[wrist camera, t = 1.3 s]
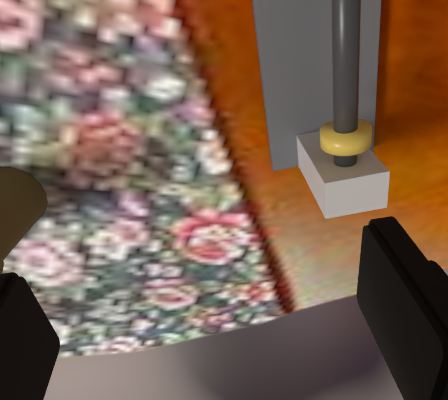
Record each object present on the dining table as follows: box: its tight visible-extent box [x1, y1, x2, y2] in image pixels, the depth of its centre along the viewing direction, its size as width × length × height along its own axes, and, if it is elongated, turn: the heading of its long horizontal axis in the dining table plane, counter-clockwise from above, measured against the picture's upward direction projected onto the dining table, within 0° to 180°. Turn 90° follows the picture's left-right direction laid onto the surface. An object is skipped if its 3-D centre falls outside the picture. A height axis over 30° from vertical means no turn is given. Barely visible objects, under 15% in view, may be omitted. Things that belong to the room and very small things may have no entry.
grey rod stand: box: [252, 0, 390, 219], centre depth 24 cm, size 24×9×9 cm, turn 10°
